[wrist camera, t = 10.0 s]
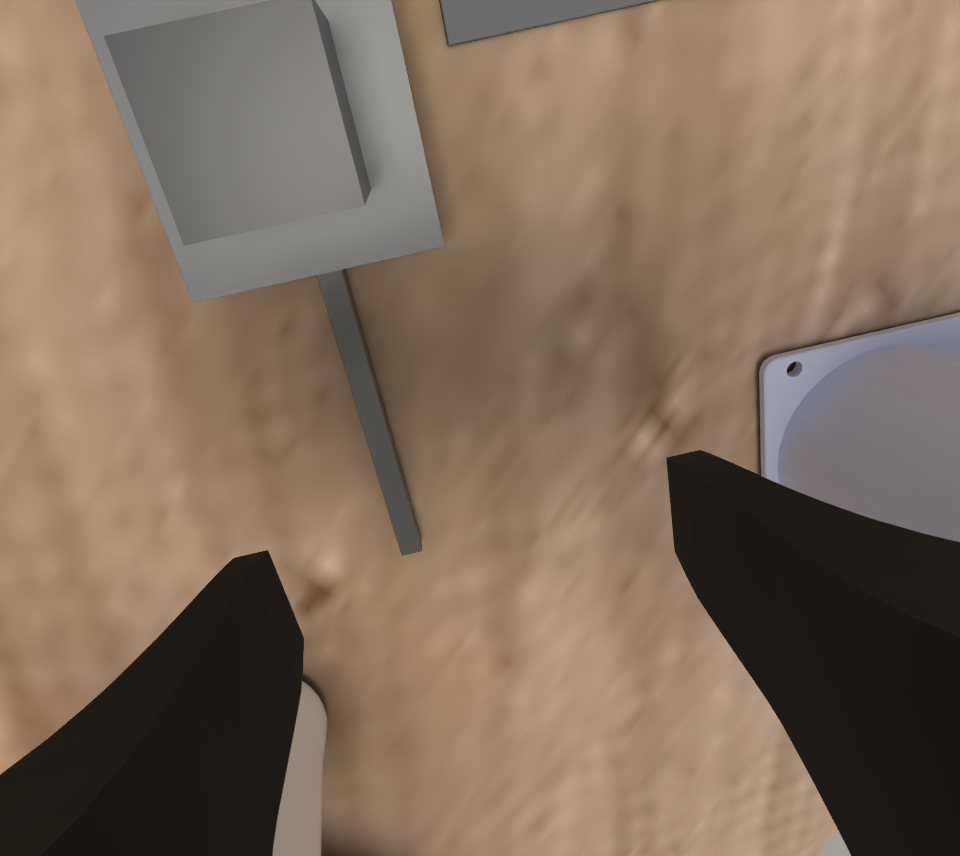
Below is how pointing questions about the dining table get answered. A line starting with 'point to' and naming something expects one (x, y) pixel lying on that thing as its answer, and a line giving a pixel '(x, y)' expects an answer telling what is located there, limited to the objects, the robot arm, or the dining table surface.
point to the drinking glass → (303, 782)
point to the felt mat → (516, 15)
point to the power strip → (317, 234)
